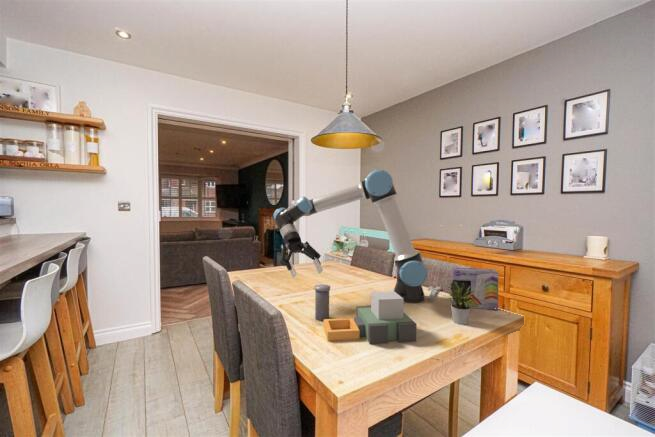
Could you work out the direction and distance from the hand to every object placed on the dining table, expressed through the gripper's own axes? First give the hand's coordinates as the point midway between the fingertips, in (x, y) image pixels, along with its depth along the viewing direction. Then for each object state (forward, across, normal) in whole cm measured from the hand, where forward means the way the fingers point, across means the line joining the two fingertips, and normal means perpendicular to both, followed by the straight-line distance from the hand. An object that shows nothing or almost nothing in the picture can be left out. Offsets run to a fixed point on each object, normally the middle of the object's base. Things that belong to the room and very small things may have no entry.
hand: (308, 273), depth 121 cm
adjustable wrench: (+25, -66, +2) cm, 70 cm away
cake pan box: (+40, -63, +19) cm, 77 cm away
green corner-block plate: (+32, -5, +10) cm, 34 cm away
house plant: (+43, -40, +21) cm, 63 cm away
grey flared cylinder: (+19, 0, -4) cm, 19 cm away
